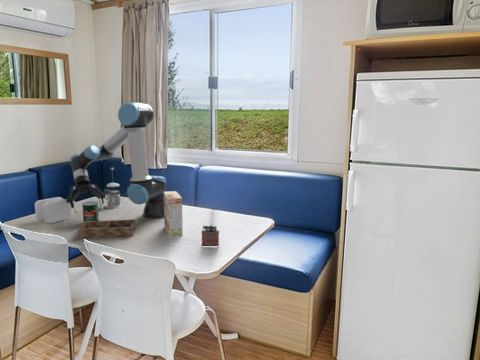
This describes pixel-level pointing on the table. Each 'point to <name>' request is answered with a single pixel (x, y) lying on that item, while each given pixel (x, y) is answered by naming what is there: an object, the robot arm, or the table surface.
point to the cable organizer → (53, 210)
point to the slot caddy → (107, 229)
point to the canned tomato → (90, 211)
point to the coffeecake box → (173, 213)
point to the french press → (113, 195)
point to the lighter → (210, 236)
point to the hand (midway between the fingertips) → (89, 210)
